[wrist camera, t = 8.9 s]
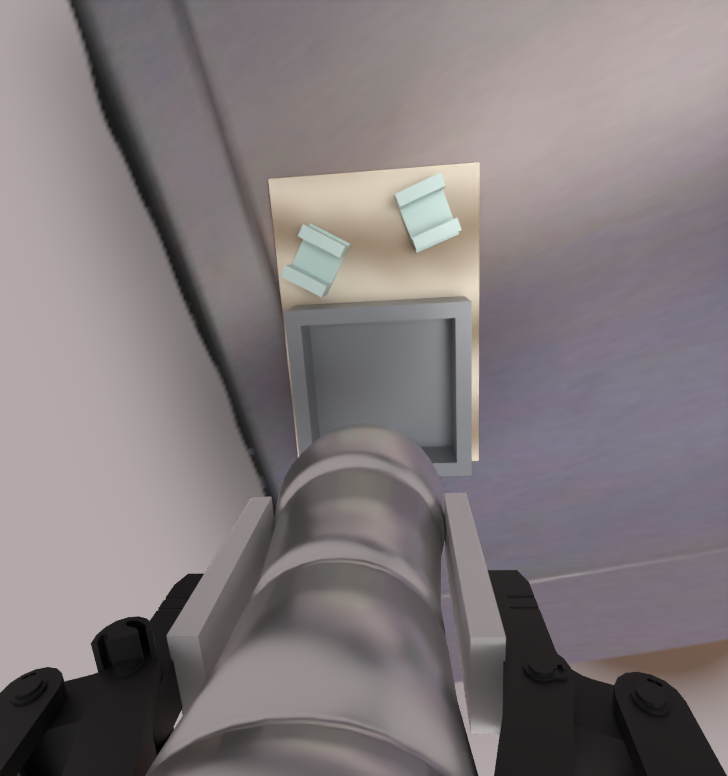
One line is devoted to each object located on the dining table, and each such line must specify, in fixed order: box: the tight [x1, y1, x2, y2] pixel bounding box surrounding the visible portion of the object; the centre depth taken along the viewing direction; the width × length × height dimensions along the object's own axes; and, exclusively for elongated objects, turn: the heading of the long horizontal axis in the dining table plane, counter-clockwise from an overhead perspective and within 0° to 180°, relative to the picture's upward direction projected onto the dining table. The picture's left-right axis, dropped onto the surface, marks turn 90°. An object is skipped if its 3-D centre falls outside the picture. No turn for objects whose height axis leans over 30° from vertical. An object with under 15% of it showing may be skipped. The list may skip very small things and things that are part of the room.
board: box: [268, 162, 480, 461], centre depth 35 cm, size 21×14×1 cm, turn 4°
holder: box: [284, 296, 472, 476], centre depth 34 cm, size 12×12×4 cm
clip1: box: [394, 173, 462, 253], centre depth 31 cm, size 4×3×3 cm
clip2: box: [281, 223, 351, 297], centre depth 32 cm, size 4×3×3 cm
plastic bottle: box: [145, 423, 478, 776], centre depth 11 cm, size 6×7×20 cm
